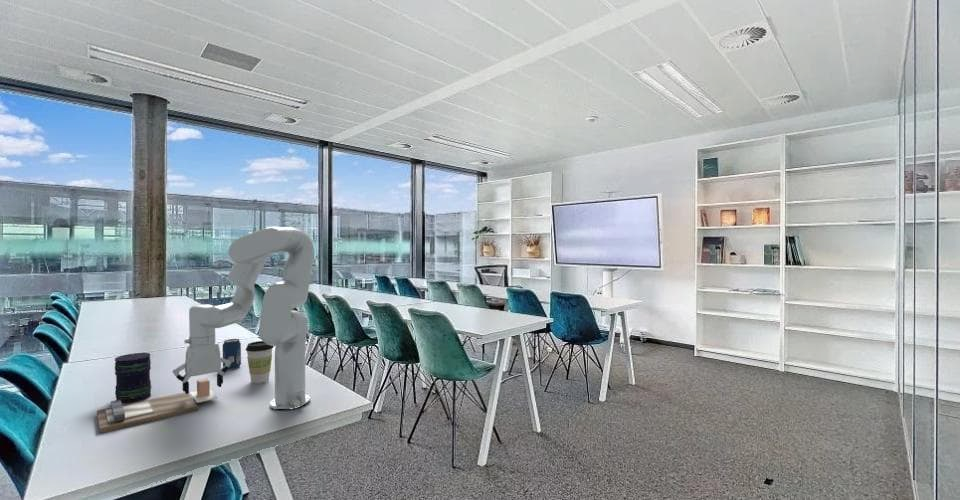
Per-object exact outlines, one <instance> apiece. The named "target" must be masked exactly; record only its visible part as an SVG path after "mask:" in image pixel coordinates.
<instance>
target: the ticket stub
mask: <svg viewBox="0 0 960 500" xmlns="http://www.w3.org/2000/svg"><path fill="white" fill-rule="evenodd" d="M210 382H211V381H210V380H209V379H208V378H201V379H196V390H195V391H191V392H190V391H189V395H190V396H191V398H192V399H193V400H194V401H195V403H196V404H199V403H203V402H207V401H212V400H216V399H218V398H219V397H218V396H217V395H216V394H215V393H214V392H213V391H212V389H210V385H211V384H210Z"/></svg>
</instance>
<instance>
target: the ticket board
mask: <svg viewBox="0 0 960 500" xmlns="http://www.w3.org/2000/svg"><path fill="white" fill-rule="evenodd" d="M198 411H199V406H198V403H197V402H196V401H195V400H194V399H193V397H192V396H191V395H190V393H188V394H186V393H185V391H184V392H183V391H182V392H180V393H174V394H170V395H165V396H160V397H156V398H155V397H154V398H151V399H149V398H148V399H145V400H142V401H139V402H135V403H128V404H122V403H121V400H116V399H115V400H112V401H110V407H107V408H102V409H97V410H96V418H97V423H98V429H99V434H103V433H108V432H113V431H116V430H120V429H124V428H129V427H133V426H137V425H141V424H142V425H143V424H145V423H147V424H148V423H150V422H154V421H159V420H162V419H167V418H171V417H172V418H173V417H177V416H181V415H185V414H187V413H188V414H189V413H193V412H198Z"/></svg>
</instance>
